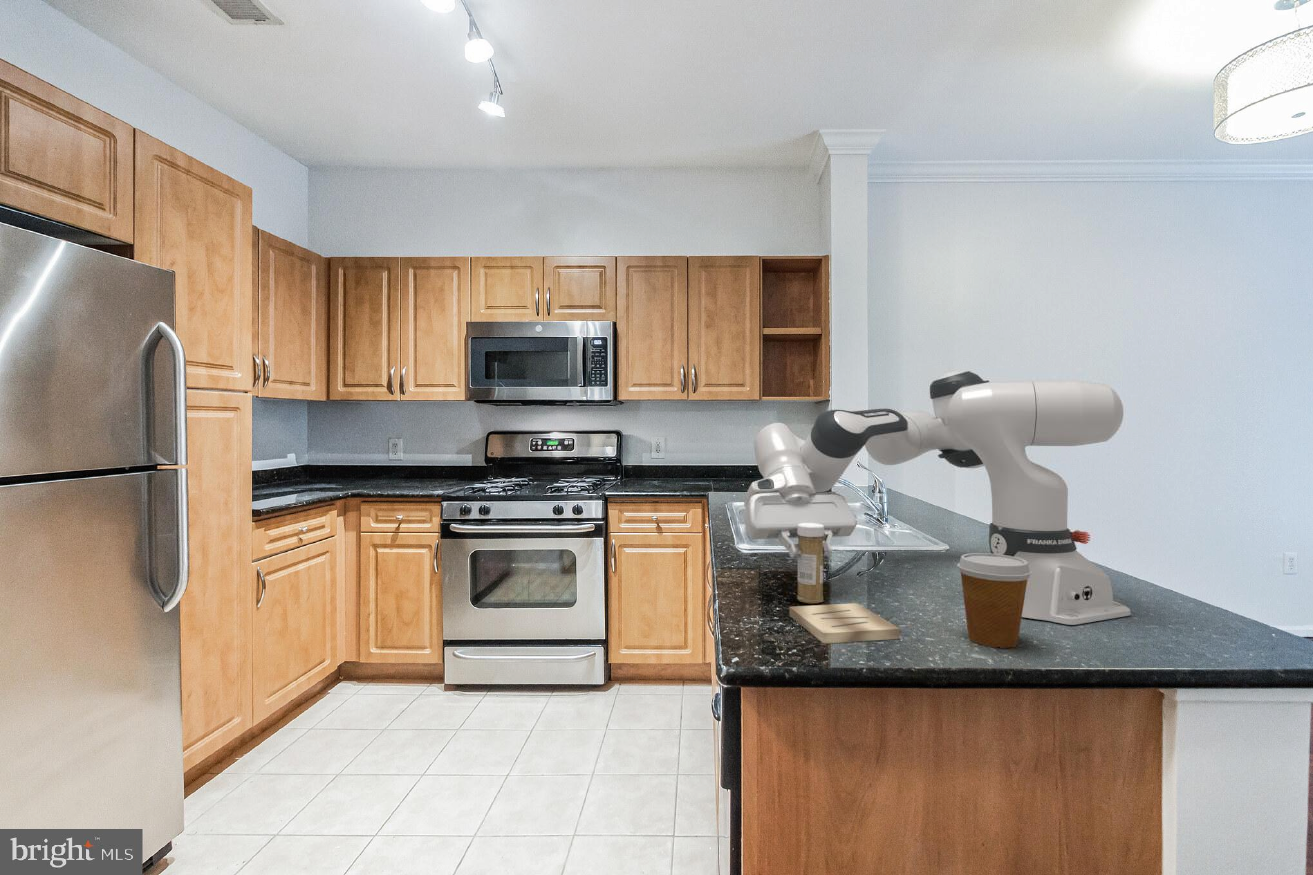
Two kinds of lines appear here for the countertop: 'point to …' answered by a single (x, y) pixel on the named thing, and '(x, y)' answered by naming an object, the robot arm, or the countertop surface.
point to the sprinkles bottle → (810, 562)
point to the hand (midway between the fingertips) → (811, 555)
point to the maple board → (843, 623)
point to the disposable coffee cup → (993, 597)
